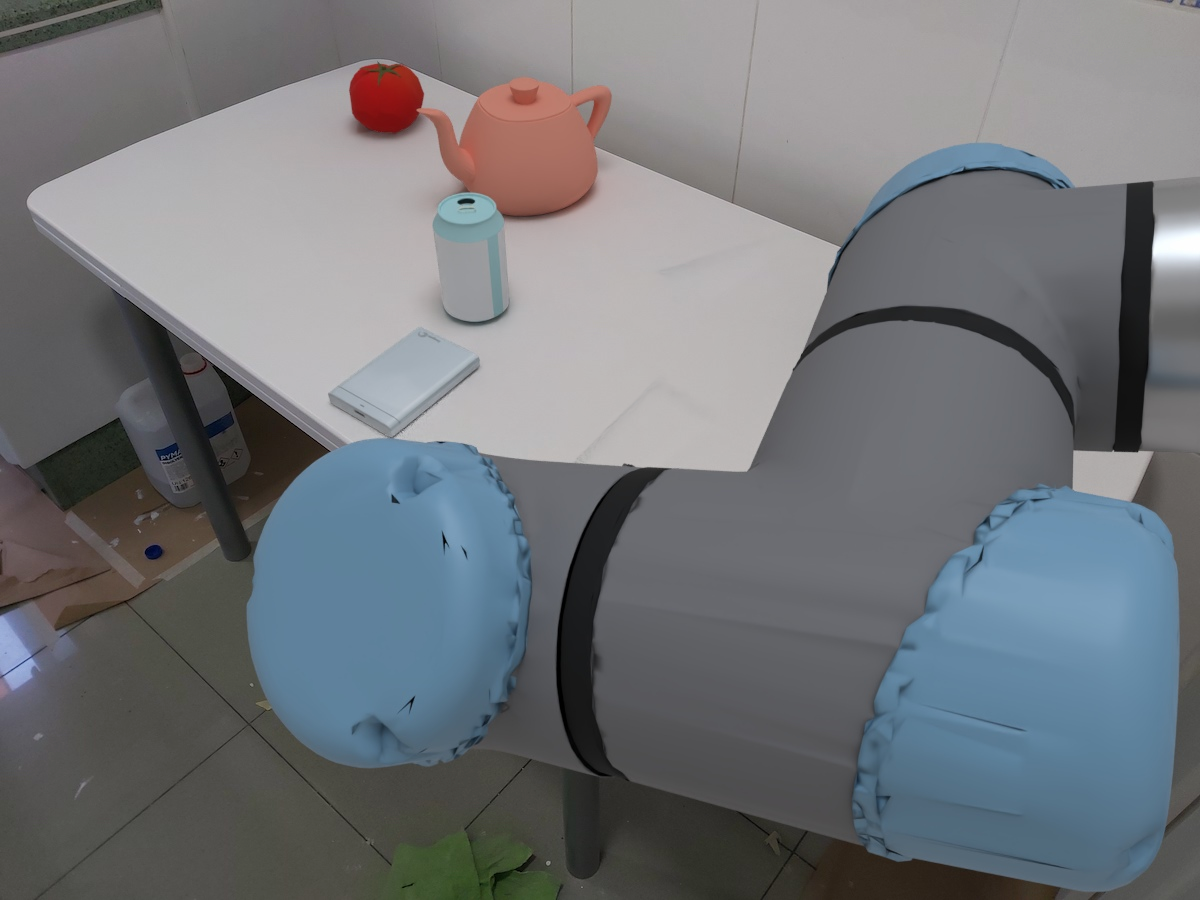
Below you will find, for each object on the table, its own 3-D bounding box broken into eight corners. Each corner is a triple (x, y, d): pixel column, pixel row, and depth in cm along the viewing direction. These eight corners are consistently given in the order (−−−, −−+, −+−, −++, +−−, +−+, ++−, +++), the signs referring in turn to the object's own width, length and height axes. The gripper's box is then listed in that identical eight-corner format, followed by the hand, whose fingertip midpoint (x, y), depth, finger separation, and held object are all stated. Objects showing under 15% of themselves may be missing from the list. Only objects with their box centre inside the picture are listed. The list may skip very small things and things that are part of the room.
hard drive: (418, 324, 90) (326, 390, 83) (479, 355, 87) (389, 426, 80) (420, 337, 91) (330, 403, 84) (480, 368, 88) (392, 439, 81)
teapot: (456, 246, 103) (443, 137, 93) (405, 180, 113) (389, 76, 103) (640, 195, 111) (646, 90, 102) (577, 138, 121) (578, 38, 112)
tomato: (340, 128, 122) (328, 67, 116) (397, 103, 128) (388, 44, 122) (385, 150, 118) (374, 88, 112) (441, 123, 124) (434, 63, 118)
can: (430, 306, 95) (415, 206, 86) (480, 279, 98) (470, 180, 90) (473, 335, 91) (462, 235, 83) (523, 306, 95) (517, 207, 86)
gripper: (390, 493, 39) (614, 522, 57) (878, 933, 27) (962, 791, 45) (473, 347, 38) (674, 424, 56) (1020, 739, 26) (1048, 674, 44)
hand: (804, 588), depth 51 cm, fingers open, 13 cm apart
